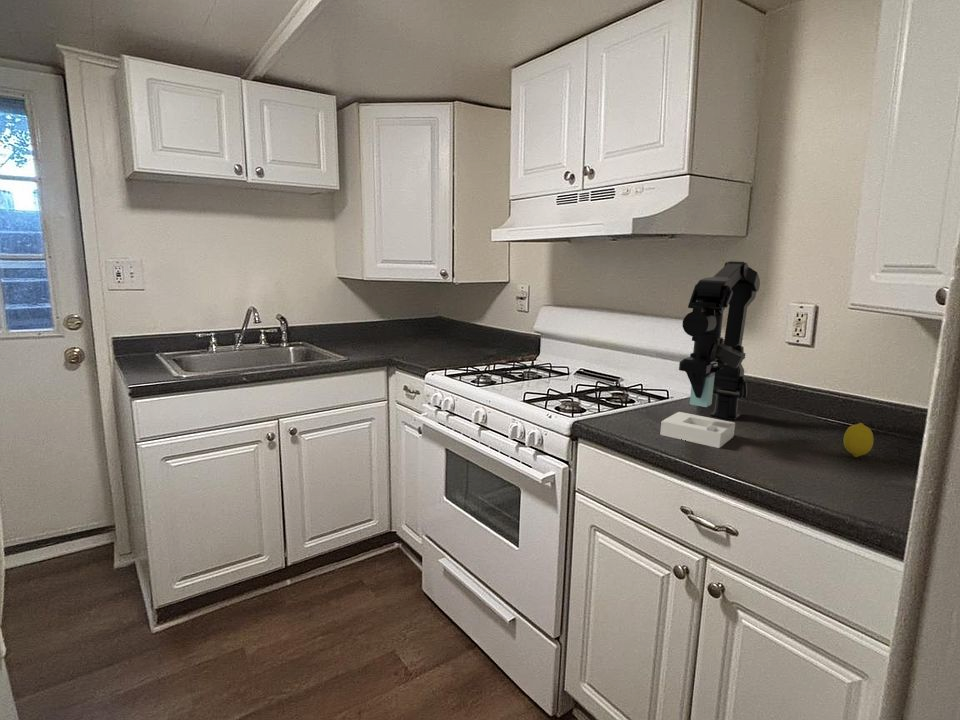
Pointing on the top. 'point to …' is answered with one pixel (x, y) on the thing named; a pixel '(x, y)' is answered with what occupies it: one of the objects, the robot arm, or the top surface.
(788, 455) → the top surface
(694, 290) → the robot arm
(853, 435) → the lemon
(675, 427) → the socket plate
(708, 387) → the plug
